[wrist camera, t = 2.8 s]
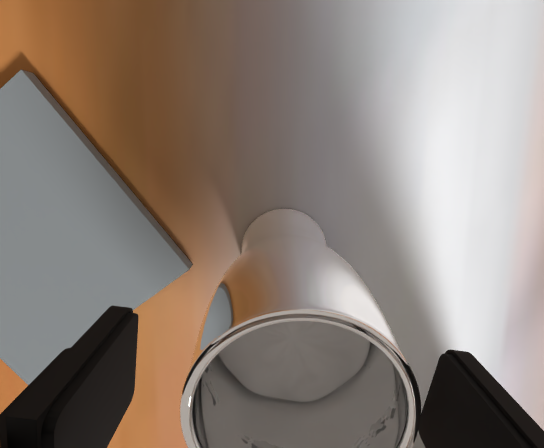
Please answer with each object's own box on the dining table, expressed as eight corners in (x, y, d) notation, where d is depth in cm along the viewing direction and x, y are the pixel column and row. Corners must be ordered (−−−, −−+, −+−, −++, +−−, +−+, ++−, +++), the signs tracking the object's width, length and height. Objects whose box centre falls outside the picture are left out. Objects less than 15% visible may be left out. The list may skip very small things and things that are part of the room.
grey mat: (192, 264, 24) (189, 269, 23) (37, 376, 26) (28, 385, 25) (32, 73, 21) (21, 69, 20) (-126, 218, 23) (-144, 221, 22)
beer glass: (266, 310, 24) (256, 551, 10) (216, 233, 23) (118, 380, 9) (349, 266, 24) (470, 458, 9) (302, 183, 22) (356, 252, 8)
